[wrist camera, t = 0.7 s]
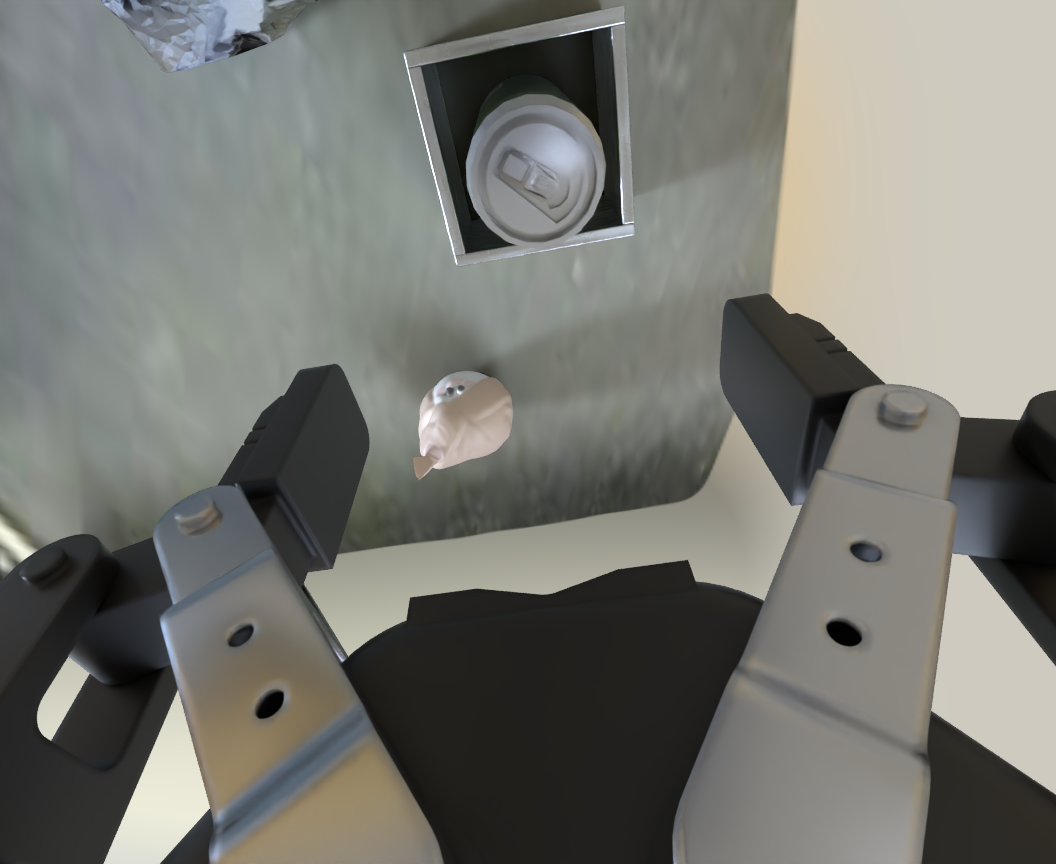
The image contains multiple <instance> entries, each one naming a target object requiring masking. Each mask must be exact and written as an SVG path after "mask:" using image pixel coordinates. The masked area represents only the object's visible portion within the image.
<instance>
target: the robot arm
mask: <svg viewBox="0 0 1056 864" xmlns="http://www.w3.org/2000/svg"><path fill="white" fill-rule="evenodd" d="M720 379H721V385H722V389H723V392H724V395H725V397H726V398H727V400H728V402H729V403H730V405H731V407H732V408H733V410H734V412H735V413H736V415H737V417H738V418H739V420H740V421H741V423H742V425H743V427H744V428H745V430H746V432H747V433H748V435H749V437H750V438H751V440H752V442H753V443H754V445H755V446H756V448H757V450H758V451H759V453H760V455H761V456H762V458H763V459H764V461H765V463H766V465H767V466H768V468H769V470H770V471H771V473H772V475H773V476H774V478H775V480H776V481H777V483H778V485H779V486H780V488H781V490H782V491H783V493H784V495H785V496H786V498H787V499H788V501H789V503H790V505H791V506H794V505H802V504H803V505H802V508H801V510H800V513H799V515H798V518H797V520H796V523H795V525H794V528H793V530H792V533H791V535H790V538H789V541H788V543H787V546H786V548H785V550H784V553H783V555H782V558H781V560H780V563H779V566H778V568H777V571H776V573H775V576H774V578H773V581H772V583H771V586H770V588H769V591H768V593H767V596H766V598H765V601H763V600H761V599H759V598H757V597H754V596H752V595H749V594H747V593H745V592H742V591H739V590H735V589H732V588H729V587H725V586H721V585H716V584H711V583H704V582H695V579H694V576H693V573H692V570H691V567H690V564H689V562H688V560H685V561H677V562H670V563H662V564H655V565H648V566H640V567H633V568H625V569H618V570H615V571H613V572H610V573H608V574H604V575H602V576H599V577H596V578H594V579H591V580H589V581H586V582H583V583H580V584H578V585H575V586H572V587H569V588H567V589H564V590H562V591H559V592H556V593H553V594H548V595H538V594H527V593H517V592H507V591H496V590H485V589H471V590H463V591H456V592H450V593H442V594H434V595H426V596H419V597H412V598H410V602H409V608H408V614H407V621H404V622H402V623H400V624H397V625H395V626H393V627H391V628H389V629H387V630H385V631H383V632H382V633H380V634H378V635H377V636H375V637H374V638H372V639H370V640H369V641H367V642H366V643H365V644H363V645H362V646H361V647H360V648H358V649H357V650H356V651H354V652H353V653H352V654H351V655H350V656H349V657H348V655H347V654H346V652H345V651H344V649H343V647H342V646H341V644H340V642H339V641H338V639H337V637H336V636H335V634H334V632H333V631H332V629H331V628H330V626H329V624H328V623H327V621H326V619H325V617H324V616H323V614H322V613H321V611H320V609H319V608H318V606H317V604H316V603H315V601H314V599H313V598H312V596H311V595H310V593H309V591H308V590H307V588H306V587H305V585H304V581H305V578H306V575H307V573H308V572H313V571H320V570H327V569H333V565H334V563H335V559H336V556H337V553H338V550H339V546H340V543H341V540H342V536H343V533H344V530H345V527H346V523H347V520H348V517H349V514H350V510H351V507H352V504H353V500H354V497H355V494H356V491H357V487H358V484H359V481H360V478H361V474H362V471H363V468H364V465H365V461H366V458H367V455H368V451H369V433H368V428H367V425H366V422H365V420H364V417H363V415H362V413H361V410H360V408H359V406H358V403H357V401H356V399H355V397H354V394H353V392H352V390H351V387H350V385H349V383H348V380H347V378H346V376H345V374H344V372H343V370H342V369H341V367H340V366H339V365H337V364H332V365H326V366H320V367H314V368H308V369H302V370H300V371H299V372H298V373H297V375H296V376H295V378H294V380H293V381H292V383H291V385H290V387H289V388H288V390H287V392H286V394H285V395H284V396H280V397H279V398H278V399H277V400H276V401H274V402H273V403H272V404H271V405H270V406H269V407H268V408H266V409H265V410H264V411H263V412H262V413H261V415H260V417H259V418H258V420H257V422H256V423H255V425H254V426H253V428H252V429H253V431H252V432H250V433H249V435H248V436H247V438H246V440H245V441H244V444H245V445H242V446H241V448H240V449H239V451H238V453H237V454H236V456H235V458H234V459H233V461H232V463H231V464H230V466H229V467H228V469H227V471H226V472H225V474H224V476H223V477H222V479H221V481H220V482H219V484H218V485H217V486H215V487H210V488H207V489H204V490H201V491H198V492H196V493H194V494H192V495H190V496H188V497H186V498H185V499H183V500H181V501H180V502H179V503H177V504H176V505H174V506H173V507H172V508H171V509H170V510H168V511H167V512H166V513H165V514H164V515H163V517H162V518H161V519H160V520H159V522H158V523H157V525H156V527H155V529H154V532H153V537H152V538H149V539H147V540H144V541H141V542H139V543H136V544H133V545H131V546H128V547H125V548H122V549H120V550H117V551H114V552H112V553H111V552H110V551H109V550H108V549H107V548H106V547H105V546H104V545H103V544H102V543H101V542H100V540H99V539H98V538H97V537H95V536H93V535H89V534H80V535H74V536H70V537H66V538H63V539H60V540H58V541H56V542H53V543H51V544H49V545H47V546H45V547H43V548H42V549H40V550H38V551H37V552H35V553H33V554H32V555H30V556H29V557H28V558H26V559H25V560H24V561H22V562H21V563H20V564H18V565H17V566H16V567H15V568H14V569H13V570H12V571H11V572H10V573H9V574H8V575H7V576H6V577H5V579H4V580H3V581H2V582H1V583H0V864H103V863H104V861H105V859H106V856H107V854H108V852H109V849H110V847H111V845H112V842H113V840H114V837H115V835H116V833H117V831H118V828H119V826H120V824H121V821H122V819H123V817H124V814H125V812H126V809H127V807H128V805H129V802H130V800H131V798H132V795H133V793H134V790H135V788H136V786H137V784H138V781H139V779H140V777H141V774H142V772H143V770H144V767H145V765H146V763H147V760H148V758H149V756H150V753H151V751H152V749H153V746H154V744H155V742H156V739H157V737H158V735H159V732H160V730H161V728H162V725H163V723H164V720H165V718H166V716H167V714H168V711H169V709H170V706H171V704H172V702H173V700H174V697H175V695H176V692H177V690H179V694H180V698H181V702H182V705H183V709H184V713H185V716H186V720H187V724H188V727H189V731H190V735H191V738H192V742H193V746H194V750H195V753H196V757H197V761H198V764H199V768H200V771H201V775H202V779H203V782H204V786H205V790H206V794H207V797H208V801H209V805H210V809H209V810H208V811H207V812H206V813H205V814H204V816H203V817H202V818H201V819H200V820H199V821H198V822H197V823H196V824H195V825H194V827H193V828H192V829H191V830H190V831H189V832H188V833H187V834H186V836H185V837H184V838H183V839H182V840H181V841H180V842H179V843H178V844H177V845H176V847H175V848H174V849H173V850H172V851H171V852H170V853H169V854H168V855H167V857H166V858H165V859H164V860H163V861H162V862H161V863H160V864H1056V795H1055V794H1054V793H1052V792H1051V791H1049V790H1048V789H1046V788H1045V787H1043V786H1042V785H1041V784H1039V783H1038V782H1036V781H1035V780H1033V779H1032V778H1030V777H1029V776H1027V775H1026V774H1024V773H1023V772H1021V771H1020V770H1018V769H1017V768H1015V767H1014V766H1012V765H1011V764H1009V763H1008V762H1006V761H1005V760H1003V759H1002V758H1000V757H999V756H997V755H996V754H994V753H993V752H992V751H990V750H988V749H987V748H986V747H984V746H983V745H981V744H980V743H978V742H977V741H975V740H974V739H972V738H971V737H969V736H968V735H966V734H965V733H963V732H962V731H960V730H959V729H957V728H956V727H954V726H953V725H951V724H950V723H948V722H947V721H945V720H944V719H942V718H941V717H939V716H938V715H937V714H935V713H934V712H932V711H931V708H932V700H933V692H934V685H935V678H936V670H937V662H938V655H939V648H940V640H941V633H942V625H943V617H944V610H945V603H946V595H947V588H948V580H949V573H950V565H951V558H952V553H954V554H962V555H968V556H969V557H970V558H971V560H972V561H973V562H974V563H975V564H976V566H977V567H978V568H979V570H980V571H981V572H982V573H983V575H984V576H985V577H986V578H987V580H988V581H989V582H990V584H991V585H992V586H993V587H994V589H995V590H996V591H997V592H998V594H999V595H1000V596H1001V597H1002V599H1003V600H1004V601H1005V602H1006V604H1007V605H1008V606H1009V608H1010V609H1011V610H1012V611H1013V613H1014V614H1015V615H1016V616H1017V617H1018V619H1019V620H1020V621H1021V623H1022V624H1023V625H1024V626H1025V628H1026V629H1027V630H1028V631H1029V633H1030V634H1031V635H1032V637H1033V638H1034V639H1035V640H1036V642H1037V643H1038V644H1039V646H1040V647H1041V648H1042V649H1043V651H1044V652H1045V653H1046V654H1047V656H1048V657H1049V658H1050V659H1051V661H1052V662H1053V663H1054V664H1055V666H1056V390H1055V391H1048V392H1044V393H1041V394H1039V395H1037V396H1035V397H1033V398H1032V399H1031V400H1030V401H1029V403H1028V405H1027V407H1026V409H1025V411H1024V413H1023V415H1022V417H1021V419H1020V420H1006V419H985V418H964V417H960V415H959V413H958V411H957V410H956V408H955V407H954V406H953V405H952V404H951V403H950V402H948V401H947V400H946V399H944V398H943V397H940V396H939V395H937V394H934V393H932V392H929V391H927V390H924V389H920V388H916V387H912V386H905V385H895V384H885V383H884V382H883V381H882V380H881V379H879V378H878V377H877V376H876V375H875V374H874V373H873V372H872V371H871V370H870V369H869V368H868V367H867V366H866V365H865V364H863V362H861V361H860V360H859V359H858V358H857V357H856V356H855V355H854V354H853V353H852V352H851V351H847V348H846V347H845V346H844V345H843V344H842V343H841V342H840V341H839V340H835V336H834V335H833V334H832V333H830V332H829V331H828V330H827V329H826V328H825V327H824V326H823V325H822V324H821V323H819V322H817V321H814V320H812V319H809V318H807V317H805V316H803V315H800V314H798V313H795V314H788V313H787V312H786V311H785V310H784V309H783V308H782V307H781V306H780V305H779V304H778V303H777V302H776V301H775V300H774V299H773V298H772V297H771V296H770V295H769V294H767V293H766V294H759V295H753V296H747V297H741V298H735V299H729V300H727V302H726V304H725V307H724V312H723V326H722V341H721V356H720ZM68 657H70V658H71V659H72V660H73V661H75V662H76V663H77V664H78V665H80V666H81V667H82V668H84V669H85V670H86V671H87V672H89V673H90V674H89V676H88V678H87V680H86V681H85V683H84V685H83V686H82V688H81V690H80V692H79V693H78V695H77V697H76V699H75V700H74V702H73V704H72V706H71V707H70V709H69V711H68V712H67V714H66V716H65V718H64V720H63V721H62V723H61V725H60V726H59V728H58V730H57V732H56V734H55V735H54V737H53V739H52V740H51V741H50V740H48V739H47V738H45V737H44V736H43V735H42V734H41V732H40V731H39V728H38V724H37V711H38V707H39V704H40V702H41V700H42V698H43V696H44V694H45V693H46V691H47V689H48V688H49V686H50V685H51V683H52V681H53V680H54V678H55V677H56V675H57V674H58V672H59V670H60V669H61V667H62V666H63V664H64V662H65V661H66V659H67V658H68Z"/></svg>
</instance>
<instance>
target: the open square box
mask: <svg viewBox="0 0 1056 864" xmlns="http://www.w3.org/2000/svg"><path fill="white" fill-rule="evenodd" d="M624 23H625V7H624V6H623V5H622V6H617V7H612V8H607V9H602V10H597V11H592V12H588V13H583V14H578V15H573V16H569V17H564V18H559V19H554V20H550V21H545V22H540V23H535V24H531V25H526V26H521V27H516V28H512V29H507V30H502V31H497V32H493V33H488V34H483V35H478V36H474V37H469V38H464V39H459V40H454V41H450V42H445V43H440V44H435V45H431V46H426V47H421V48H417V49H412V50H408V51H404V52H403V55H404V58H405V62H406V66H407V68H409V69H408V70H407V71H408V75H409V79H410V83H411V87H412V90H413V94H414V98H415V102H416V106H417V110H418V114H419V118H420V122H421V126H422V130H423V134H424V138H425V142H426V146H427V150H428V154H429V158H430V162H431V166H432V170H433V174H434V178H435V182H436V186H437V190H438V194H439V198H440V202H441V206H442V210H443V214H444V218H445V221H446V225H447V229H448V233H449V237H450V241H451V245H452V249H453V253H454V255H455V261H456V265H457V267H460V266H465V265H471V264H476V263H482V262H487V261H493V260H499V259H504V258H510V257H515V256H521V255H526V254H532V253H537V252H543V251H548V250H554V249H559V248H565V247H570V246H576V245H582V244H587V243H593V242H598V241H604V240H609V239H615V238H620V237H626V236H631V235H635V224H634V199H633V177H632V156H631V134H630V112H629V90H628V69H627V47H626V26H625V24H624ZM587 31H592V38H593V52H594V65H595V78H596V91H597V104H598V117H599V130H600V140H601V142H602V147H603V152H604V157H605V163H606V170H605V180H604V195H605V196H601V197H600V200H599V202H598V205H597V207H596V210H595V212H594V215H593V216H592V217H591V218H590V220H589V221H588V222H587V223H586V225H585V226H584V227H583V228H582V230H581V231H580V232H578V233H577V234H575V235H574V236H573V237H571V238H570V239H568V240H567V241H565V242H564V243H561V244H558V245H554V246H551V247H548V248H524V247H521V246H518V245H515V244H512V243H509V242H507V241H505V240H504V239H503V238H501V237H500V236H499V235H497V234H496V233H495V232H493V231H492V230H491V229H490V228H489V227H487V225H486V224H485V223H484V221H483V220H482V219H477V220H472V221H471V219H470V214H469V210H468V205H467V201H466V197H465V192H464V188H463V183H462V179H461V174H460V170H459V165H458V161H457V156H456V152H455V147H454V143H453V139H452V134H451V130H450V125H449V121H448V116H447V112H446V107H445V103H444V98H443V94H442V89H441V85H440V81H439V76H438V72H437V67H436V63H438V62H442V61H447V60H452V59H457V58H462V57H467V56H471V55H476V54H481V53H486V52H491V51H495V50H500V49H505V48H510V47H515V46H520V45H524V44H529V43H534V42H539V41H544V40H548V39H553V38H558V37H563V36H568V35H572V34H577V33H582V32H587Z"/></svg>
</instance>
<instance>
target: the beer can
mask: <svg viewBox="0 0 1056 864" xmlns="http://www.w3.org/2000/svg"><path fill="white" fill-rule="evenodd" d="M605 170H606V163H605V157H604V152H603V147H602V142H601V140H600V138H599V136H598V134H597V132H596V130H595V129H594V127H593V125H592V123H591V121H590V120H589V119H588V118H587V117H586V116H585V115H584V114H583V113H582V112H581V111H580V110H579V109H578V108H577V107H576V105H575V104H574V103H573V102H572V101H571V100H570V99H569V98H568V97H567V96H566V95H565V94H564V93H563V92H562V91H560V90H559V89H558V88H557V87H556V86H555V85H554V84H553V83H552V82H550V81H548V80H545V79H543V78H541V77H538V76H536V75H518V76H515V77H512V78H509V79H507V80H504V81H502V82H501V83H500V84H499V85H498V86H496V87H495V88H494V89H493V90H492V91H490V93H489V94H488V96H487V98H486V99H485V101H484V103H483V104H482V106H481V108H480V112H479V115H478V119H477V123H476V126H475V130H474V133H473V137H472V141H471V145H470V149H469V153H468V156H467V160H466V177H467V188H468V191H469V194H470V197H471V200H472V203H473V206H474V209H475V210H476V211H477V213H478V214H479V216H480V217H481V218H482V220H483V221H484V223H485V224H486V225H487V227H489V228H490V229H491V230H492V231H493V232H495V233H496V234H497V235H499V236H500V237H501V238H503V239H504V240H505V241H507V242H509V243H512V244H515V245H518V246H521V247H524V248H548V247H551V246H554V245H558V244H561V243H564V242H565V241H567V240H568V239H570V238H571V237H573V236H574V235H575V234H577V233H578V232H580V231H581V230H582V228H583V227H584V226H585V225H586V223H587V222H588V221H589V220H590V218H591V217H592V216H593V215H594V212H595V210H596V207H597V205H598V202H599V200H600V197H601V195H602V192H603V189H604V180H605Z"/></svg>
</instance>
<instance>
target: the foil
mask: <svg viewBox="0 0 1056 864" xmlns="http://www.w3.org/2000/svg"><path fill="white" fill-rule="evenodd" d="M101 1H102V2H103V4H104V5H105V6H106V7H107V8H109V9H110V10H111V11H112V12H113V13H114V14H115V15H116V16H117V17H118V18H119V19H120V20H122V21H123V22H124V23H125V25H126V26H127V27H128V28H129V30H130V31H131V32H132V33H133V34H134V36H135V37H136V38H137V39H138V41H139V42H140V43H141V44H142V45H143V47H144V48H145V49H146V50H147V51H148V53H149V54H150V55H151V56H152V58H153V59H154V60H155V62H156V63H157V64H158V66H159V67H160V69H161V70H163V71H166V72H175V71H181V70H186V69H189V68H193V67H197V66H200V65H204V64H207V63H211V62H214V61H218V60H221V59H225V58H229V57H232V56H235V55H238V54H241V53H243V52H246V51H249V50H251V49H254V48H257V47H259V46H262V45H265V44H268V43H270V42H272V41H273V40H275V39H277V38H279V37H281V36H282V35H284V33H285V30H286V28H287V26H288V25H289V24H290V23H291V22H292V21H293V20H294V19H295V18H296V17H297V16H298V15H299V13H300V12H301V11H302V10H303V9H304V8H305V7H306V6H307V5H309V4H311V3H313V2H315V1H317V0H101Z"/></svg>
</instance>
